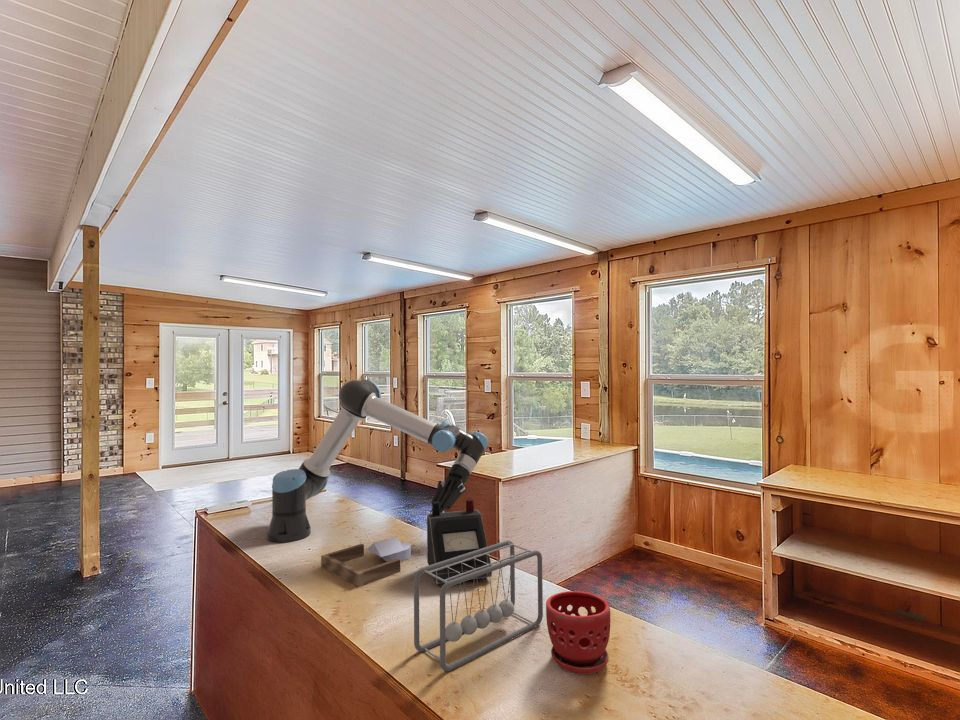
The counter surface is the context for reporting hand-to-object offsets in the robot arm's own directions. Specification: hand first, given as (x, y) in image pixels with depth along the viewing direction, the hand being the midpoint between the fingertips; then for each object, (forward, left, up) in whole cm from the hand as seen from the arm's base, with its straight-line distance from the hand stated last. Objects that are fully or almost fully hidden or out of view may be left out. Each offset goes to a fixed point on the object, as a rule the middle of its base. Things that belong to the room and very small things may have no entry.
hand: (428, 524), depth 169 cm
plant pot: (+74, -23, -8) cm, 78 cm away
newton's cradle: (+53, -30, -8) cm, 62 cm away
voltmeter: (+24, -9, -8) cm, 27 cm away
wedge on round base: (-1, -15, -8) cm, 17 cm away
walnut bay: (-1, -26, -8) cm, 27 cm away
